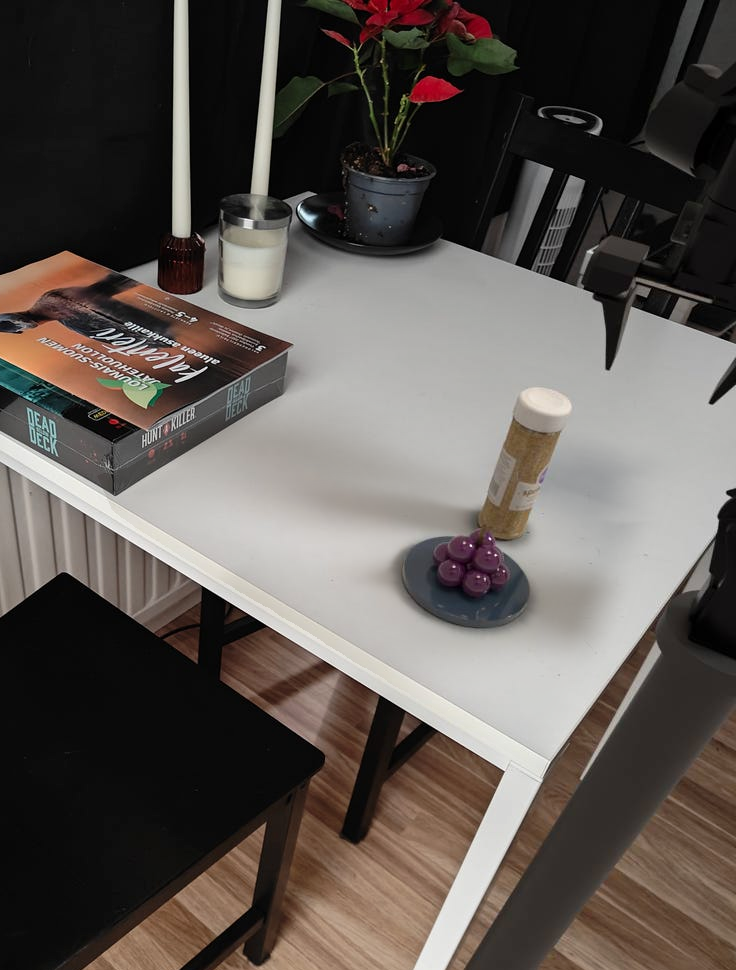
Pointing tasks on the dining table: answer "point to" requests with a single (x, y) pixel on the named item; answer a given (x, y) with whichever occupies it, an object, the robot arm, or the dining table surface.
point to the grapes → (466, 579)
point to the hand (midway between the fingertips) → (658, 385)
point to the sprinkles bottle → (524, 460)
